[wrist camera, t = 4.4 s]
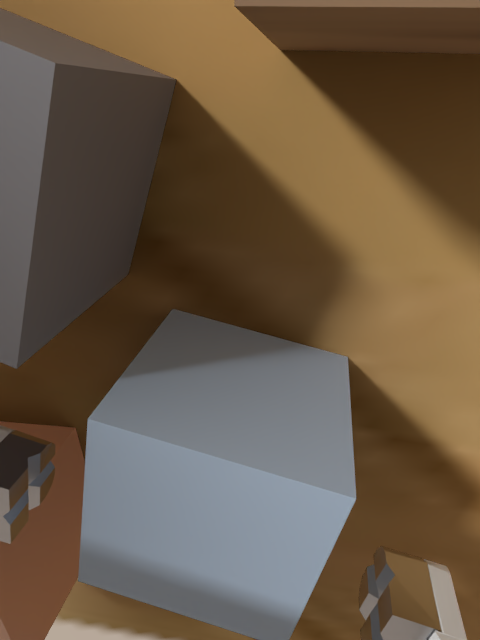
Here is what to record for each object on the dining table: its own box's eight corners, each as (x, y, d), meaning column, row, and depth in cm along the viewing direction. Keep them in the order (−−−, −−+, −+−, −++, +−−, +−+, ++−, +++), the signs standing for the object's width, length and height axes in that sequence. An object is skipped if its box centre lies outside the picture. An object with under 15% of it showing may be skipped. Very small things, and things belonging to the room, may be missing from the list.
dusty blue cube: (173, 307, 13) (87, 418, 8) (347, 355, 12) (356, 498, 8) (153, 438, 15) (78, 581, 10) (299, 482, 15) (285, 648, 10)
